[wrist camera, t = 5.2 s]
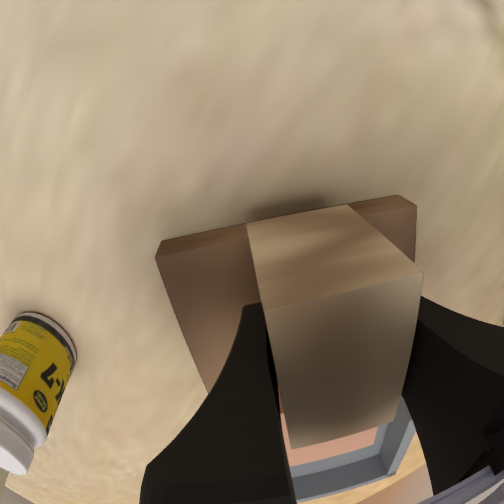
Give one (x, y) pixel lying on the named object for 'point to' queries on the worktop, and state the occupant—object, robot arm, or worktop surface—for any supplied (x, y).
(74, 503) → the worktop surface
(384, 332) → the tall beige block
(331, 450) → the pink square block
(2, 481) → the can
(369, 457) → the tray
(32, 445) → the supplement bottle
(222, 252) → the board
